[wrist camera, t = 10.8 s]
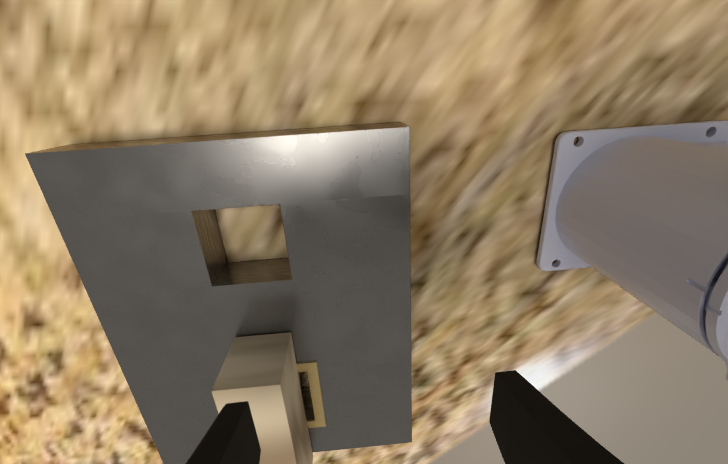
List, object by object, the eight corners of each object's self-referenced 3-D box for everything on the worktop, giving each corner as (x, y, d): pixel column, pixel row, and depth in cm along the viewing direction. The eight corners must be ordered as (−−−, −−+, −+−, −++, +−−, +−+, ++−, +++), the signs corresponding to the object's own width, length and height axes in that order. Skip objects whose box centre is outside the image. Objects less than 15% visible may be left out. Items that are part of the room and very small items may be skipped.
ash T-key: (315, 422, 24) (308, 517, 19) (273, 426, 24) (253, 523, 19) (296, 306, 20) (280, 384, 15) (246, 310, 20) (211, 391, 15)
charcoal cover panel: (400, 121, 17) (409, 127, 14) (405, 409, 25) (411, 443, 22) (69, 144, 16) (23, 154, 14) (181, 431, 24) (164, 468, 22)
